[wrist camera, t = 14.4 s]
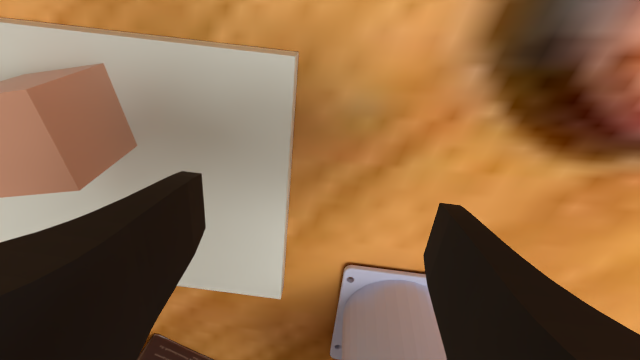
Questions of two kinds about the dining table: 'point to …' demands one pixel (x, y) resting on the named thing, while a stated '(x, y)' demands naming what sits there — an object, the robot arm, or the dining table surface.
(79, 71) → the peach colored cube
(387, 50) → the dining table surface
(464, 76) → the dining table surface
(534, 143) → the dining table surface
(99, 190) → the board
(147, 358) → the box
